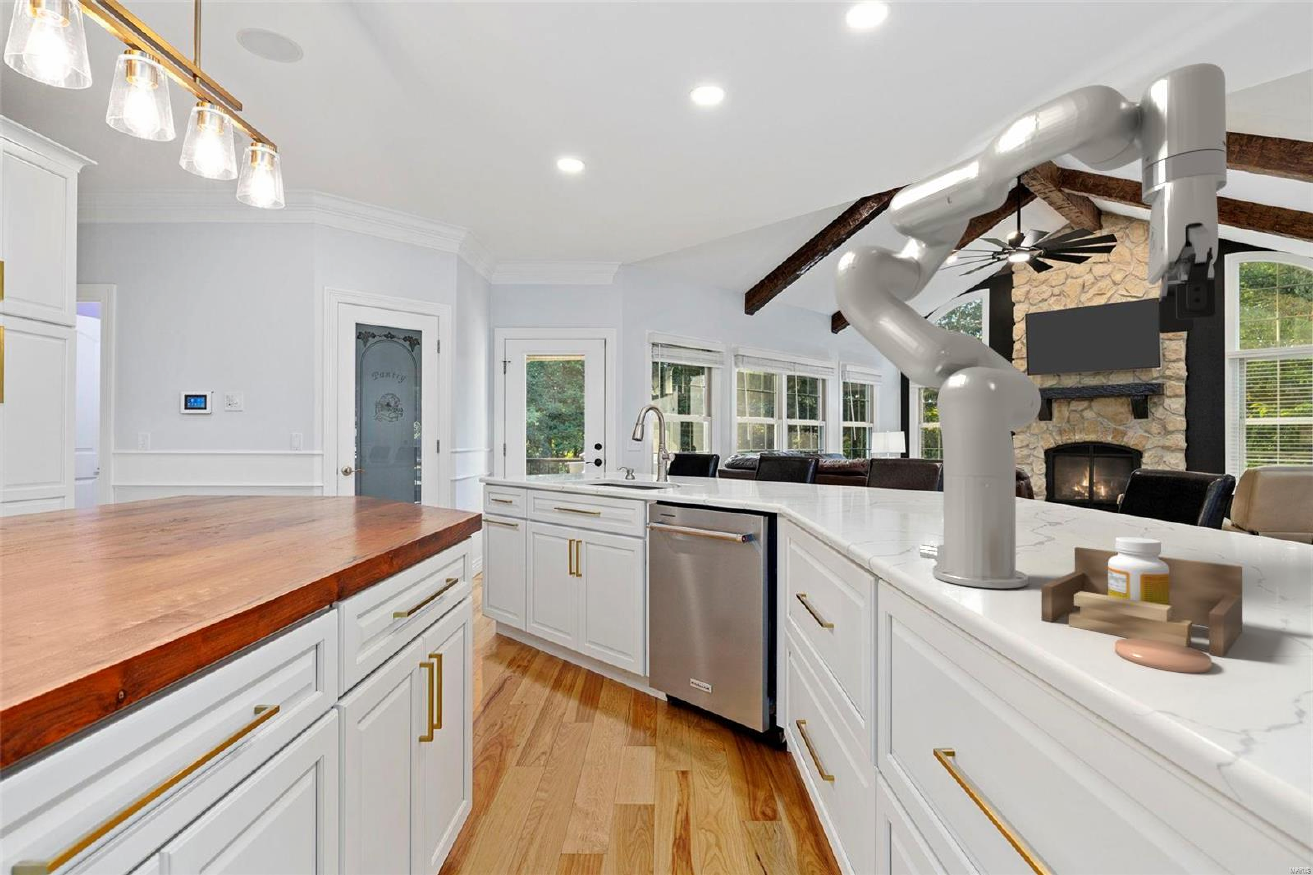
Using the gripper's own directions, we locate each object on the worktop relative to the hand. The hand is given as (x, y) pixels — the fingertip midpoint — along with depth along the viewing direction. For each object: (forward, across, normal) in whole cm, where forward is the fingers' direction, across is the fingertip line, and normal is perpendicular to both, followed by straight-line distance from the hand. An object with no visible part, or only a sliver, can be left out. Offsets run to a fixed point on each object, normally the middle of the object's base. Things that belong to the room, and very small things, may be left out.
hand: (1184, 325), depth 71 cm
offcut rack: (+34, +7, -6) cm, 35 cm away
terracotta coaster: (+34, +18, -5) cm, 39 cm away
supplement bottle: (+34, +7, -6) cm, 36 cm away
